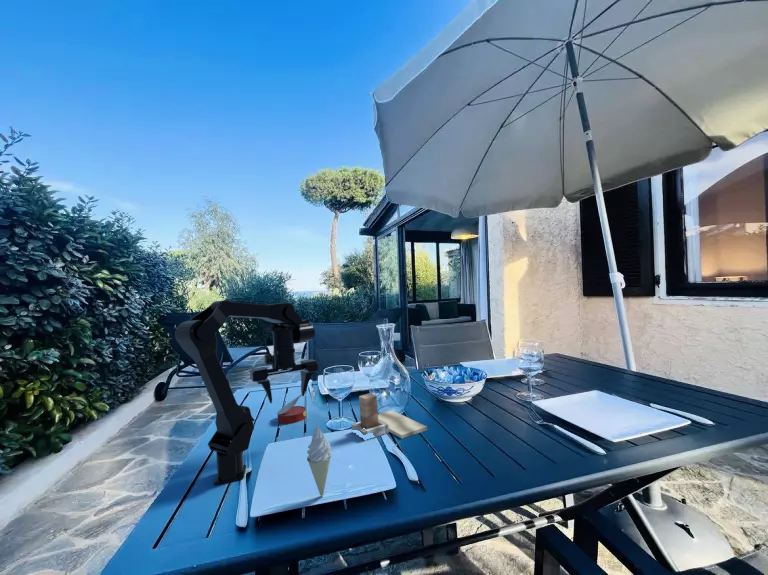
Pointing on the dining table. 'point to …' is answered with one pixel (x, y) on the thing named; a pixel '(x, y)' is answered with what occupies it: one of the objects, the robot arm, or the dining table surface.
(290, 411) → the canned food
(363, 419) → the peg
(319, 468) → the ice cream cone
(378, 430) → the socket
